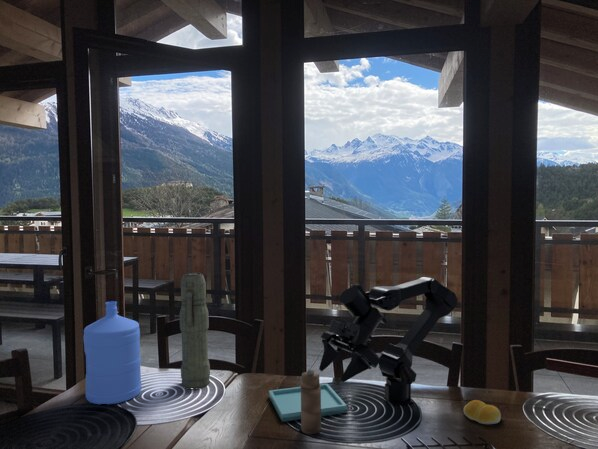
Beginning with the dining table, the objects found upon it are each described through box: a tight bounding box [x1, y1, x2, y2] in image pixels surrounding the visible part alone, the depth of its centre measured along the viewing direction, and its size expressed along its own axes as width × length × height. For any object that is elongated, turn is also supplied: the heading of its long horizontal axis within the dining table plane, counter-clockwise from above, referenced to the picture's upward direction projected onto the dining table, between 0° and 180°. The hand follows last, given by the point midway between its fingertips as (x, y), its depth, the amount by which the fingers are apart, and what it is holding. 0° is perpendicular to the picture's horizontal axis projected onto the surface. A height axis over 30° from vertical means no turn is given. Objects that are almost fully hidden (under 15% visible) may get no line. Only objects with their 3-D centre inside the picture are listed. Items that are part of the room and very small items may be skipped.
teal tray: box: [268, 383, 348, 423], centre depth 133 cm, size 18×16×2 cm
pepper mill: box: [300, 368, 322, 435], centre depth 119 cm, size 5×5×15 cm
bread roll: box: [463, 399, 502, 425], centre depth 125 cm, size 8×9×4 cm
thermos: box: [179, 272, 211, 390], centre depth 149 cm, size 9×12×35 cm
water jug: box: [83, 300, 142, 405], centre depth 141 cm, size 16×16×28 cm
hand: (330, 375), depth 122 cm, fingers open, 9 cm apart
